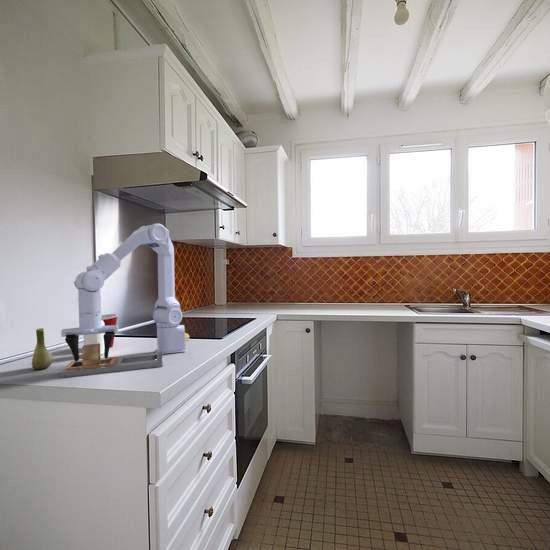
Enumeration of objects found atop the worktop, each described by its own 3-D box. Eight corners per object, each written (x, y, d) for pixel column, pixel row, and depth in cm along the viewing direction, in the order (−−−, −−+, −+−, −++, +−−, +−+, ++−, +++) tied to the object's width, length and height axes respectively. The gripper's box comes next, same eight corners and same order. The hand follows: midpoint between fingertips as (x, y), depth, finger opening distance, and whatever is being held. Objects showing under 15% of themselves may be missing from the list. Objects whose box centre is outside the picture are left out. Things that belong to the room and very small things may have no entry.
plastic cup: (84, 347, 126) (83, 315, 126) (115, 342, 133) (114, 312, 133) (91, 352, 118) (89, 318, 118) (123, 347, 125) (122, 315, 125)
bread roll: (174, 344, 129) (174, 333, 129) (164, 340, 136) (164, 331, 136) (193, 340, 135) (193, 330, 135) (183, 337, 142) (182, 328, 141)
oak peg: (100, 366, 100) (100, 343, 100) (98, 370, 96) (97, 346, 96) (85, 368, 99) (84, 344, 99) (82, 372, 95) (81, 347, 95)
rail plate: (162, 356, 110) (162, 351, 109) (162, 366, 98) (162, 360, 98) (72, 365, 101) (71, 360, 101) (60, 377, 90) (60, 371, 90)
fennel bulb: (37, 366, 102) (36, 327, 102) (55, 364, 103) (54, 326, 103) (28, 371, 96) (26, 330, 96) (47, 370, 97) (45, 329, 97)
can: (96, 357, 111) (95, 321, 111) (79, 356, 112) (78, 321, 112) (109, 352, 117) (108, 318, 117) (93, 352, 119) (92, 318, 118)
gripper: (57, 315, 91) (59, 365, 91) (115, 312, 96) (117, 359, 96) (64, 312, 98) (66, 359, 98) (118, 309, 103) (120, 353, 103)
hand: (91, 358), depth 98 cm, fingers open, 7 cm apart
